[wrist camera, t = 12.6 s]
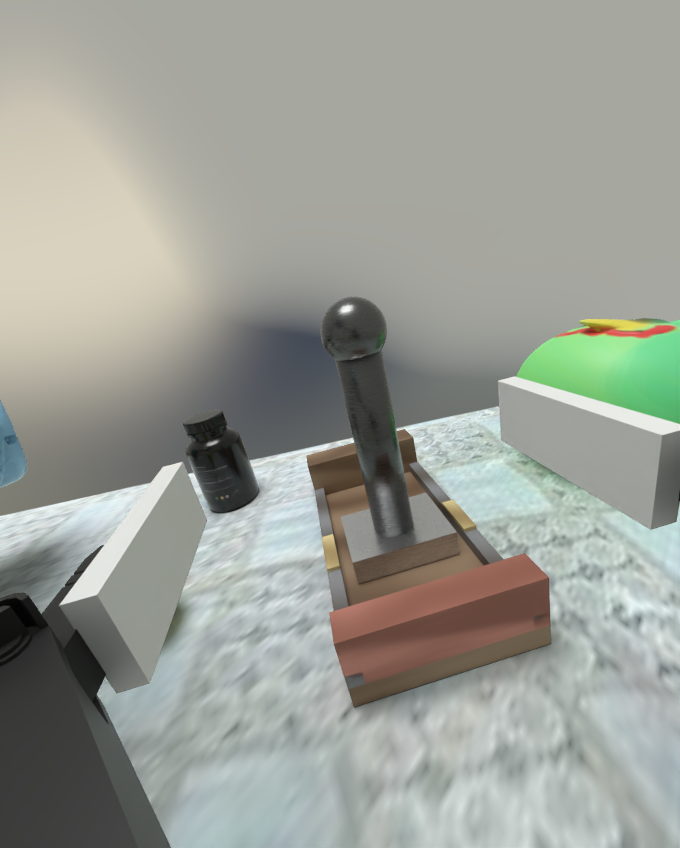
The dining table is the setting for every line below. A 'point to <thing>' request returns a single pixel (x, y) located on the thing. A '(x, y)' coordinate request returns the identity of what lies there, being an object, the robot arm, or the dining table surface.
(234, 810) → the dining table surface
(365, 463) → the press handle
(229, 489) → the supplement bottle
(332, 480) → the press base
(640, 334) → the toy bird
